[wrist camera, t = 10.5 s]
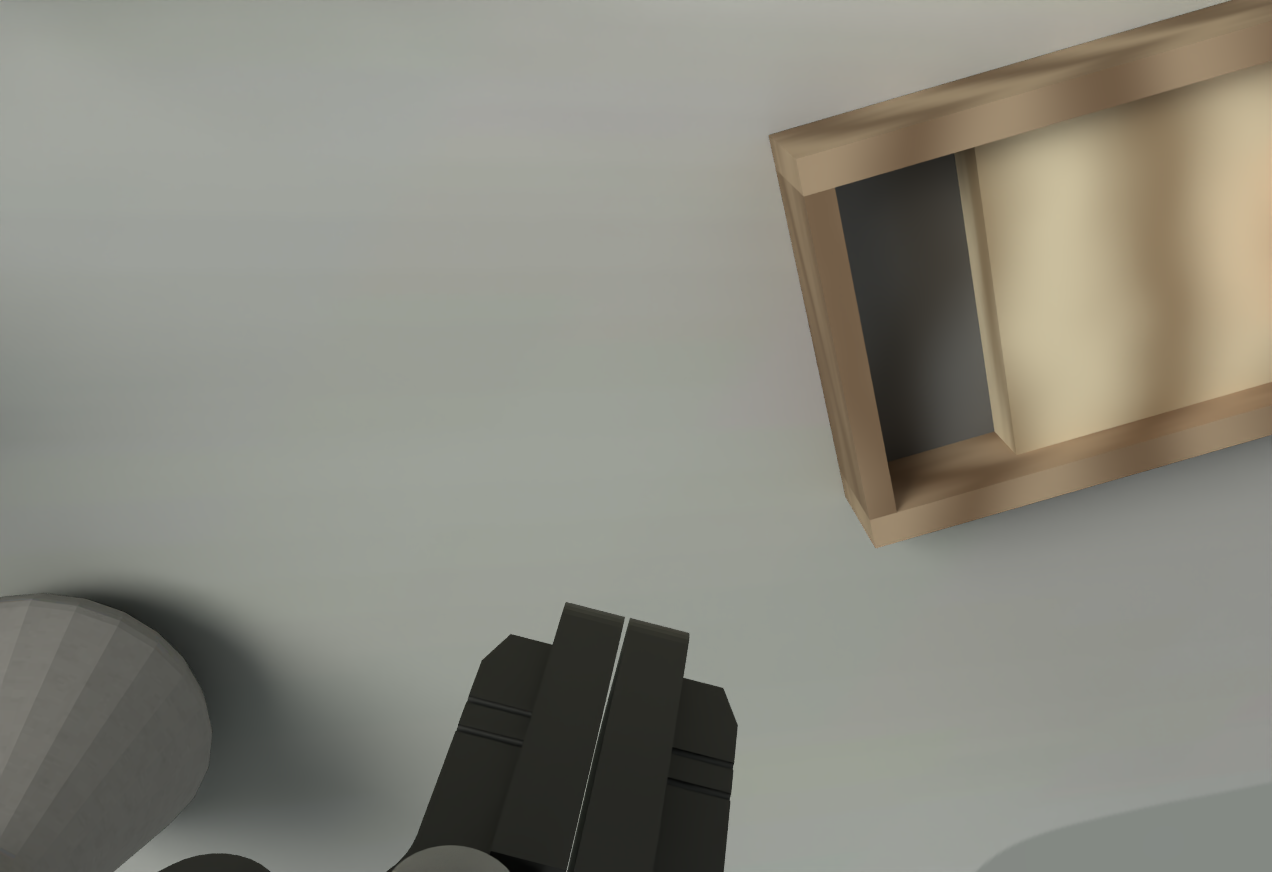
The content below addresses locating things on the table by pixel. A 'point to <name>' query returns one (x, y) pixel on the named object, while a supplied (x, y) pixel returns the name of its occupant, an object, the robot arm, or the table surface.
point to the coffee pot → (91, 735)
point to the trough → (1042, 270)
